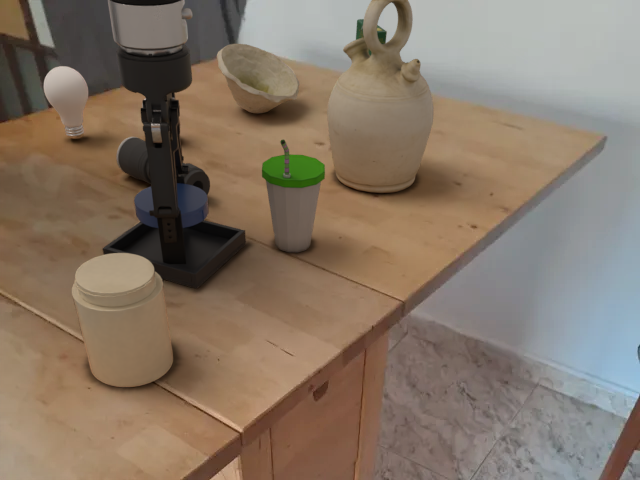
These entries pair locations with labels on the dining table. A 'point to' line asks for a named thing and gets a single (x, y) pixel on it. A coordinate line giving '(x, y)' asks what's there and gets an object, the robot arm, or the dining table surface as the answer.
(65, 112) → the light bulb
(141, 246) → the tray
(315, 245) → the dining table surface
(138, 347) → the jar
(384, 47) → the jug
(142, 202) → the lid
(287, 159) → the cup
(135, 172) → the flashlight
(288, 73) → the bowl
